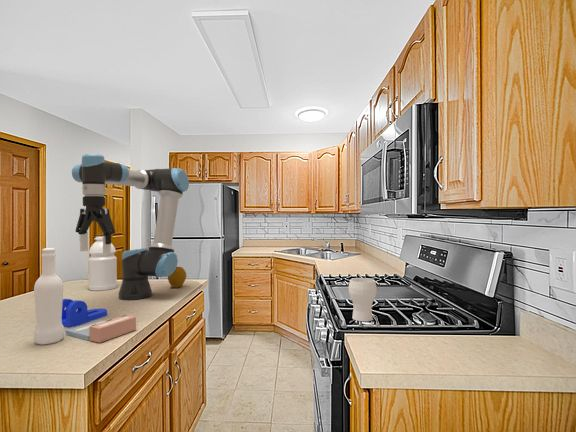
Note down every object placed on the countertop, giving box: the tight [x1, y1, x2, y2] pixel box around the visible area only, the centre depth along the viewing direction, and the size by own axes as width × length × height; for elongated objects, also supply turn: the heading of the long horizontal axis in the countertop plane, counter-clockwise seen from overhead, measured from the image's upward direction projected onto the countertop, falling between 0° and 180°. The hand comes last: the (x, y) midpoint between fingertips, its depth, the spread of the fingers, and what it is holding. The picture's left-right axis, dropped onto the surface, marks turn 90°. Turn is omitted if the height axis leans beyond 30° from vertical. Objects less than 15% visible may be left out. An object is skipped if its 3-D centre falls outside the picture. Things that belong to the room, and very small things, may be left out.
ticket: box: [65, 319, 109, 341], centre depth 126 cm, size 14×12×2 cm
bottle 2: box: [87, 235, 118, 292], centre depth 195 cm, size 14×14×28 cm
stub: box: [89, 314, 137, 343], centre depth 122 cm, size 14×5×5 cm, turn 153°
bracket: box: [62, 298, 108, 329], centre depth 139 cm, size 18×8×9 cm, turn 158°
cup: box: [348, 277, 378, 322], centre depth 140 cm, size 11×11×15 cm
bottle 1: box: [33, 247, 65, 346], centre depth 116 cm, size 8×8×30 cm
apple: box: [167, 266, 187, 289], centre depth 198 cm, size 10×10×12 cm
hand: (95, 252), depth 136 cm, fingers open, 13 cm apart
